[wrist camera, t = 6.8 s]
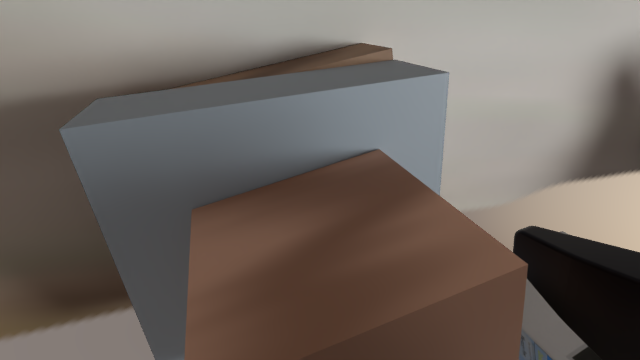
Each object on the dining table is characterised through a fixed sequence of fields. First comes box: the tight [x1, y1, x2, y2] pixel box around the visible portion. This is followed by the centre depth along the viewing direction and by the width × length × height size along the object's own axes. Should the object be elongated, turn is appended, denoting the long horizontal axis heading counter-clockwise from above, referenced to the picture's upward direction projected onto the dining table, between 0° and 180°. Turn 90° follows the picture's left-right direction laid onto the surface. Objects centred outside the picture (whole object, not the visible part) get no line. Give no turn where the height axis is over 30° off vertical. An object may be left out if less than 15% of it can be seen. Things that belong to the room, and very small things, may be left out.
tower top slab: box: [59, 60, 449, 360], centre depth 12 cm, size 9×9×3 cm
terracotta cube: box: [184, 149, 528, 360], centre depth 8 cm, size 5×5×5 cm
